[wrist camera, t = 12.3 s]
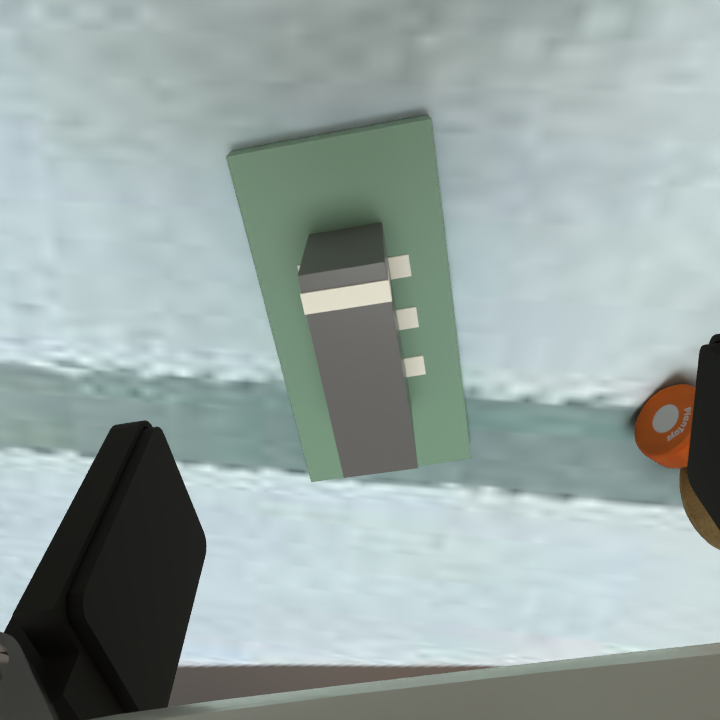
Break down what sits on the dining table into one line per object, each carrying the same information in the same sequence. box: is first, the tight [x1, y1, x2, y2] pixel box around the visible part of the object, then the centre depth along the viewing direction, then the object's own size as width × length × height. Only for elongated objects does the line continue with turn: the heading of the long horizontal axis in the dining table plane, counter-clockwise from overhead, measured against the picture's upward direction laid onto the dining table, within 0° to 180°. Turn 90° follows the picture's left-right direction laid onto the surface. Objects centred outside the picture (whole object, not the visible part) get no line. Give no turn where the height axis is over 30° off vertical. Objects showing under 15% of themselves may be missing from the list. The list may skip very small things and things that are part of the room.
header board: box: [226, 115, 471, 482], centre depth 35 cm, size 20×10×6 cm, turn 10°
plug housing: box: [298, 223, 418, 478], centre depth 33 cm, size 11×4×6 cm, turn 10°
